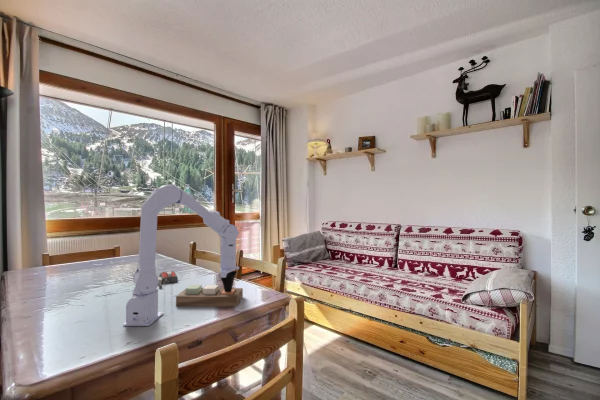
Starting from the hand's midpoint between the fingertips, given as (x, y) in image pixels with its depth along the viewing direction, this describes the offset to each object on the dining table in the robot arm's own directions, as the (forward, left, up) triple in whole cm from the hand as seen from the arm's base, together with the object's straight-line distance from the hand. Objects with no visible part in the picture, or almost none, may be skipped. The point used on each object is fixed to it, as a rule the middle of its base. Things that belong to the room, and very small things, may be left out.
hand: (228, 291), depth 108 cm
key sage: (0, +13, -1) cm, 13 cm away
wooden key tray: (0, +7, -4) cm, 7 cm away
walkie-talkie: (+24, +35, -4) cm, 43 cm away
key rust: (0, 0, -2) cm, 2 cm away
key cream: (0, +7, 0) cm, 7 cm away
